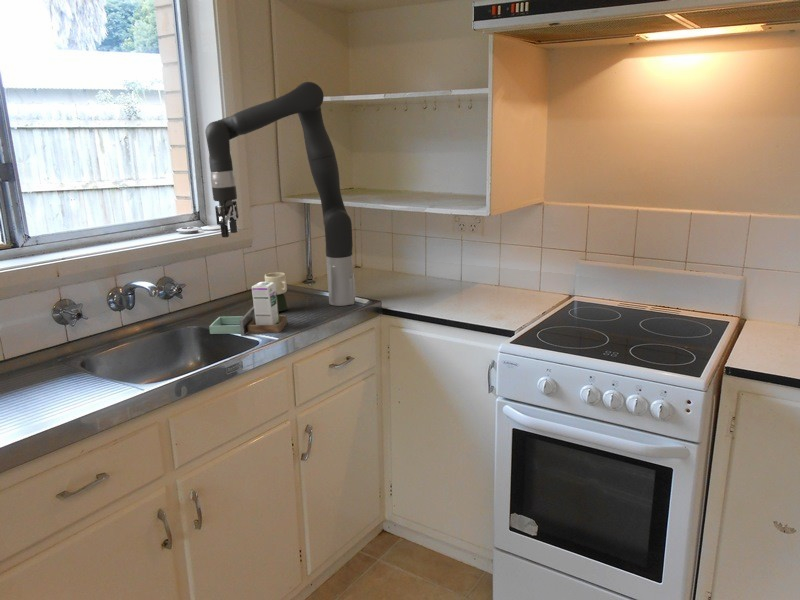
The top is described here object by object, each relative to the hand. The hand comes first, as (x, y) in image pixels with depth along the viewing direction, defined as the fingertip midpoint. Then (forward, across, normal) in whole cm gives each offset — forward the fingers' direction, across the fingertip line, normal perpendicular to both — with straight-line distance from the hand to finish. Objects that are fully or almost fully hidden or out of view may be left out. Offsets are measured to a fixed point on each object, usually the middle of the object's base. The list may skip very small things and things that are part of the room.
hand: (229, 234), depth 207 cm
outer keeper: (+27, -16, -2) cm, 32 cm away
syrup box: (+28, -16, -14) cm, 35 cm away
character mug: (+28, +2, -13) cm, 31 cm away
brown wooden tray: (+28, -16, -14) cm, 35 cm away
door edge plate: (+27, -16, -8) cm, 33 cm away
